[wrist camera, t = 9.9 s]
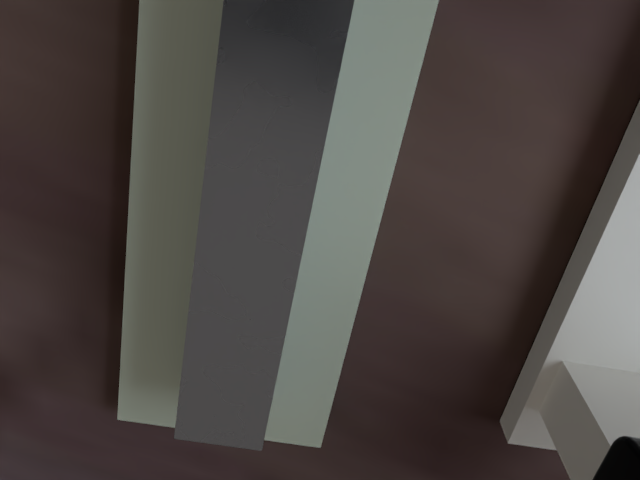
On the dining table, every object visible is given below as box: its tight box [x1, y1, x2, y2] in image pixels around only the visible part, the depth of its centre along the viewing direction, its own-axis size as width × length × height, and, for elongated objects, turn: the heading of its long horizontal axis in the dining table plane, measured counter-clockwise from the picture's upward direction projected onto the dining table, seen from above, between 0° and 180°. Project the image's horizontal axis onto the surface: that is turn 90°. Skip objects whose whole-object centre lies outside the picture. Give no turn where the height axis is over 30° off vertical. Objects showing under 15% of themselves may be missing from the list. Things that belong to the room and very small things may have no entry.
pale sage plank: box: [117, 0, 439, 448], centre depth 18 cm, size 26×8×1 cm, turn 169°
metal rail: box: [174, 0, 354, 451], centre depth 17 cm, size 22×3×2 cm, turn 169°
